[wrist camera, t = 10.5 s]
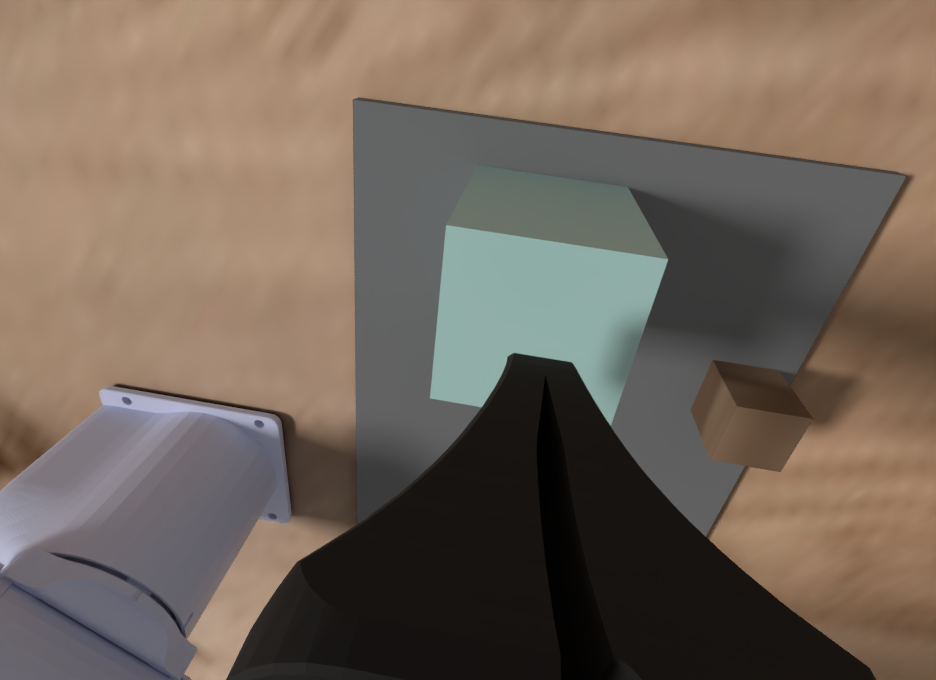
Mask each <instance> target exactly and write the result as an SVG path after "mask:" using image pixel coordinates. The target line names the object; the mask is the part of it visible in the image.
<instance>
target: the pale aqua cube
mask: <svg viewBox="0 0 936 680" xmlns="http://www.w3.org/2000/svg"><path fill="white" fill-rule="evenodd" d="M667 262H668V258H667V256H666V254H665V252H664V251H663V249H662V247H661V245H660V244H659V242H658V240H657V238H656V236H655V235H654V233H653V231H652V229H651V228H650V226H649V224H648V222H647V220H646V219H645V217H644V215H643V213H642V212H641V210H640V208H639V206H638V204H637V203H636V201H635V199H634V197H633V195H632V194H631V192H630V190H629V188H628V187H624V186H617V185H610V184H604V183H597V182H590V181H583V180H576V179H570V178H563V177H556V176H549V175H543V174H536V173H529V172H522V171H515V170H509V169H502V168H495V167H488V166H481V165H477V167H476V169H475V171H474V173H473V175H472V177H471V178H470V180H469V182H468V184H467V186H466V188H465V190H464V192H463V194H462V196H461V198H460V199H459V201H458V203H457V205H456V207H455V209H454V211H453V213H452V215H451V217H450V219H449V220H448V222H447V224H446V231H445V242H444V253H443V263H442V274H441V285H440V296H439V306H438V317H437V328H436V339H435V349H434V360H433V371H432V382H431V392H430V398H431V399H437V400H442V401H448V402H454V403H460V404H466V405H471V406H477V407H482V406H483V405H484V403H485V402H486V400H487V399H488V397H489V395H490V394H491V392H492V391H493V389H494V388H495V386H496V384H497V382H498V380H499V379H500V377H501V375H502V373H503V371H504V368H505V365H506V362H507V357H508V356H509V355H511V354H513V353H518V354H524V355H531V356H537V357H543V358H549V359H555V360H561V361H567V362H572V363H573V364H574V366H575V367H576V369H577V371H578V373H579V374H580V376H581V378H582V380H583V382H584V384H585V385H586V387H587V389H588V391H589V392H590V394H591V396H592V397H593V399H594V401H595V402H596V404H597V406H598V407H599V409H600V411H601V412H602V414H603V415H604V417H605V418H606V420H607V421H608V423H609V424H610V426H611V424H612V421H613V418H614V415H615V412H616V409H617V406H618V404H619V401H620V398H621V395H622V392H623V389H624V386H625V383H626V380H627V377H628V375H629V372H630V369H631V366H632V363H633V360H634V357H635V354H636V351H637V349H638V346H639V343H640V340H641V337H642V334H643V331H644V328H645V325H646V323H647V320H648V317H649V314H650V311H651V308H652V305H653V302H654V299H655V297H656V294H657V291H658V288H659V285H660V282H661V279H662V276H663V273H664V271H665V268H666V265H667Z"/></svg>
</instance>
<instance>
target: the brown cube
mask: <svg viewBox="0 0 936 680" xmlns="http://www.w3.org/2000/svg"><path fill="white" fill-rule="evenodd" d="M691 413H692V415H693V418H694V420H695V423H696V425H697V428H698V430H699V433H700V435H701V438H702V440H703V443H704V446H705V448H706V451H707V453H708V456H709V458H710V460H713V461H719V462H725V463H731V464H737V465H742V466H748V467H754V468H760V469H766V470H772V471H778V472H781V470H782V469H783V467H784V466H785V464H786V462H787V461H788V459H789V457H790V456H791V454H792V452H793V451H794V449H795V448H796V446H797V444H798V443H799V441H800V439H801V438H802V436H803V435H804V433H805V431H806V430H807V428H808V426H809V425H810V423H811V422H812V420H813V418H812V417H811V415H810V414H809V412H808V411H807V410H806V408H805V407H804V405H803V404H802V403H801V401H800V400H799V398H798V397H797V395H796V394H795V393H794V391H793V390H792V388H791V387H790V386H789V384H788V383H787V381H786V380H785V379H784V377H783V376H782V374H781V373H780V371H779V370H773V369H767V368H761V367H755V366H748V365H742V364H736V363H730V362H723V361H717V360H712V362H711V365H710V367H709V369H708V371H707V374H706V376H705V378H704V380H703V383H702V385H701V387H700V389H699V392H698V394H697V396H696V399H695V401H694V403H693V405H692V408H691Z"/></svg>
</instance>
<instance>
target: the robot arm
mask: <svg viewBox="0 0 936 680" xmlns="http://www.w3.org/2000/svg"><path fill="white" fill-rule="evenodd" d="M99 394H100V398H101V401H102V404H103V405H102V406H101V407H100V408H99V409H97V410H96V411H95V412H94V413H93V414H91V415H90V416H89V417H88V418H87V419H85V420H84V421H83V422H82V423H81V424H79V425H78V426H77V427H76V428H75V429H73V430H72V431H71V432H70V433H69V434H67V435H66V436H65V437H64V438H62V439H61V440H60V441H59V442H58V443H56V444H55V445H54V446H53V447H52V448H50V449H49V450H48V451H47V452H46V453H44V454H43V455H42V456H41V457H40V458H38V459H37V460H36V461H35V462H34V463H32V464H31V465H30V466H29V467H28V468H26V469H25V470H24V471H23V472H22V473H20V474H19V475H18V476H17V477H16V478H14V479H13V480H12V481H11V482H10V483H9V484H8V485H7V486H5V487H4V488H3V489H2V490H1V491H0V680H191V679H190V677H188V676H186V675H185V674H184V673H185V671H186V669H187V667H188V666H189V664H190V662H191V660H192V659H193V657H194V655H195V653H196V652H197V647H195V646H194V645H192V644H191V643H190V642H189V641H188V640H187V638H188V637H189V635H190V633H191V632H192V630H193V628H194V627H195V625H196V623H197V622H198V620H199V618H200V617H201V615H202V613H203V612H204V610H205V608H206V606H207V605H208V603H209V601H210V600H211V598H212V596H213V595H214V593H215V591H216V590H217V588H218V586H219V585H220V583H221V581H222V580H223V578H224V576H225V574H226V573H227V571H228V569H229V568H230V566H231V564H232V563H233V561H234V559H235V558H236V556H237V554H238V553H239V551H240V549H241V548H242V546H243V544H244V542H245V541H246V539H247V537H248V536H249V534H250V532H251V531H252V529H253V527H254V526H255V524H256V522H257V521H258V519H262V520H268V521H273V522H278V523H287V522H289V520H290V518H291V516H292V512H291V503H290V494H289V485H288V476H287V467H286V458H285V449H284V440H283V431H282V423H281V420H280V419H279V418H278V417H277V416H276V415H274V414H270V413H264V412H258V411H252V410H247V409H241V408H235V407H229V406H224V405H218V404H212V403H206V402H201V401H195V400H189V399H183V398H178V397H172V396H166V395H160V394H155V393H149V392H143V391H137V390H132V389H126V388H120V387H114V386H106V387H104V388H103V389H102V390H100V392H99ZM259 420H260V421H262V422H263V423H262V422H260V421H259ZM226 680H876V678H875V677H874V675H873V674H872V672H871V670H870V668H869V667H867V666H866V665H865V664H863V663H862V662H861V661H859V660H858V659H857V658H855V657H854V656H853V655H851V654H850V653H849V652H847V651H846V650H844V649H843V648H842V647H840V646H839V645H838V644H836V643H835V642H834V641H832V640H831V639H830V638H828V637H827V636H826V635H824V634H823V633H821V632H820V631H819V630H817V629H816V628H815V627H813V626H812V625H811V624H809V623H808V622H807V621H805V620H804V619H803V618H801V617H800V616H798V615H797V614H796V613H794V612H793V611H792V610H790V609H789V608H788V607H787V606H785V605H784V604H783V603H782V602H780V601H779V600H778V599H777V598H775V597H774V596H773V595H772V594H771V593H769V592H768V591H767V590H766V589H765V588H763V587H762V586H761V585H760V584H759V583H757V582H756V581H755V580H754V579H752V578H751V577H750V576H749V575H748V574H746V573H745V572H744V571H743V570H742V569H741V568H739V567H738V566H737V565H736V564H735V563H734V562H733V561H732V560H730V559H729V558H728V557H727V556H726V555H725V554H724V553H722V552H721V551H720V550H719V549H718V548H717V547H716V546H715V545H714V544H713V543H712V542H711V541H710V540H709V539H708V538H707V537H705V536H704V535H703V534H702V533H701V532H700V531H699V530H698V529H697V528H696V527H695V526H694V525H693V524H692V523H691V522H690V521H689V520H688V519H687V518H686V517H685V516H684V515H683V514H682V513H681V512H680V511H679V510H678V509H677V508H676V507H675V506H674V505H673V504H672V503H671V502H670V500H669V499H668V498H667V497H666V496H665V495H664V494H663V493H662V492H661V490H660V489H659V488H658V487H657V486H656V485H655V484H654V483H653V481H652V480H651V479H650V478H649V477H648V476H647V475H646V473H645V472H644V471H643V470H642V469H641V467H640V466H639V465H638V464H637V462H636V461H635V460H634V458H633V457H632V456H631V454H630V453H629V452H628V450H627V449H626V448H625V446H624V445H623V443H622V442H621V441H620V439H619V438H618V436H617V435H616V433H615V432H614V430H613V429H612V427H611V426H610V424H609V423H608V421H607V420H606V418H605V417H604V415H603V414H602V412H601V411H600V409H599V407H598V406H597V404H596V402H595V401H594V399H593V397H592V396H591V394H590V392H589V391H588V389H587V387H586V385H585V384H584V382H583V380H582V378H581V376H580V374H579V373H578V371H577V369H576V367H575V366H574V364H573V363H572V362H567V361H561V360H555V359H549V358H543V357H537V356H531V355H524V354H518V353H513V354H511V355H509V356H508V357H507V362H506V365H505V368H504V371H503V373H502V375H501V377H500V379H499V380H498V382H497V384H496V386H495V388H494V389H493V391H492V392H491V394H490V395H489V397H488V399H487V400H486V402H485V403H484V405H483V406H482V408H481V409H480V410H479V412H478V413H477V414H476V416H475V417H474V418H473V419H472V421H471V422H470V423H469V424H468V426H467V427H466V428H465V430H464V431H463V432H462V433H461V434H460V436H459V437H458V438H457V439H456V440H455V441H454V442H453V443H452V445H451V446H450V447H449V448H448V449H447V450H446V451H445V452H444V453H443V454H442V455H441V456H440V457H439V458H438V459H437V460H436V461H435V462H434V463H433V464H432V465H431V466H430V467H429V468H428V469H427V470H425V471H424V472H423V473H422V474H421V475H420V476H419V477H418V478H417V479H416V480H415V481H413V482H412V483H411V484H410V485H409V486H407V487H406V488H405V489H404V490H403V491H401V492H400V493H399V494H398V495H396V496H395V497H394V498H392V499H391V500H390V501H388V502H387V503H386V504H384V505H383V506H382V507H380V508H379V509H378V510H376V511H375V512H374V513H372V514H371V515H370V516H368V517H367V518H366V519H364V520H363V521H362V522H360V523H359V524H357V525H356V526H354V527H353V528H351V529H350V530H348V531H347V532H345V533H343V534H342V535H340V536H338V537H337V538H335V539H334V540H332V541H330V542H329V543H327V544H326V545H324V546H322V547H321V548H319V549H318V550H316V551H314V552H313V553H311V554H309V555H308V556H306V557H304V558H303V559H301V560H299V561H298V562H297V563H296V564H295V565H294V567H293V568H292V569H291V571H290V572H289V573H288V575H287V576H286V577H285V579H284V580H283V581H282V583H281V584H280V585H279V587H278V588H277V590H276V591H275V593H274V594H273V596H272V597H271V599H270V600H269V602H268V603H267V605H266V606H265V608H264V609H263V611H262V612H261V614H260V616H259V617H258V619H257V620H256V622H255V624H254V625H253V627H252V629H251V630H250V632H249V634H248V636H247V638H246V640H245V642H244V644H243V646H242V648H241V650H240V652H239V654H238V656H237V659H236V661H235V663H234V665H233V667H232V669H231V671H230V673H229V675H228V677H227V679H226Z"/></svg>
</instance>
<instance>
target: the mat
mask: <svg viewBox="0 0 936 680" xmlns="http://www.w3.org/2000/svg"><path fill="white" fill-rule="evenodd" d="M353 153H354V258H355V363H356V468H357V524H359V523H360V522H362V521H363V520H364V519H366V518H367V517H368V516H370V515H371V514H372V513H374V512H375V511H376V510H378V509H379V508H380V507H382V506H383V505H384V504H386V503H387V502H388V501H390V500H391V499H392V498H394V497H395V496H396V495H398V494H399V493H400V492H401V491H403V490H404V489H405V488H406V487H407V486H409V485H410V484H411V483H412V482H413V481H415V480H416V479H417V478H418V477H419V476H420V475H421V474H422V473H423V472H424V471H425V470H427V469H428V468H429V467H430V466H431V465H432V464H433V463H434V462H435V461H436V460H437V459H438V458H439V457H440V456H441V455H442V454H443V453H444V452H445V451H446V450H447V449H448V448H449V447H450V446H451V445H452V443H453V442H454V441H455V440H456V439H457V438H458V437H459V436H460V434H461V433H462V432H463V431H464V430H465V428H466V427H467V426H468V424H469V423H470V422H471V421H472V419H473V418H474V417H475V416H476V414H477V413H478V412H479V410H480V409H481V408H482V407H477V406H471V405H466V404H460V403H454V402H448V401H442V400H437V399H431V398H430V392H431V382H432V371H433V360H434V349H435V339H436V328H437V317H438V306H439V296H440V285H441V274H442V263H443V253H444V242H445V231H446V224H447V222H448V220H449V219H450V217H451V215H452V213H453V211H454V209H455V207H456V205H457V203H458V201H459V199H460V198H461V196H462V194H463V192H464V190H465V188H466V186H467V184H468V182H469V180H470V178H471V177H472V175H473V173H474V171H475V169H476V167H477V165H481V166H488V167H495V168H502V169H509V170H515V171H522V172H529V173H536V174H543V175H549V176H556V177H563V178H570V179H576V180H583V181H590V182H597V183H604V184H610V185H617V186H624V187H628V188H629V190H630V192H631V194H632V195H633V197H634V199H635V201H636V203H637V204H638V206H639V208H640V210H641V212H642V213H643V215H644V217H645V219H646V220H647V222H648V224H649V226H650V228H651V229H652V231H653V233H654V235H655V236H656V238H657V240H658V242H659V244H660V245H661V247H662V249H663V251H664V252H665V254H666V256H667V258H668V262H667V265H666V268H665V271H664V273H663V276H662V279H661V282H660V285H659V288H658V291H657V294H656V297H655V299H654V302H653V305H652V308H651V311H650V314H649V317H648V320H647V323H646V325H645V328H644V331H643V334H642V337H641V340H640V343H639V346H638V349H637V351H636V354H635V357H634V360H633V363H632V366H631V369H630V372H629V375H628V377H627V380H626V383H625V386H624V389H623V392H622V395H621V398H620V401H619V404H618V406H617V409H616V412H615V415H614V418H613V421H612V424H611V427H612V429H613V430H614V432H615V433H616V435H617V436H618V438H619V439H620V441H621V442H622V443H623V445H624V446H625V448H626V449H627V450H628V452H629V453H630V454H631V456H632V457H633V458H634V460H635V461H636V462H637V464H638V465H639V466H640V467H641V469H642V470H643V471H644V472H645V473H646V475H647V476H648V477H649V478H650V479H651V480H652V481H653V483H654V484H655V485H656V486H657V487H658V488H659V489H660V490H661V492H662V493H663V494H664V495H665V496H666V497H667V498H668V499H669V500H670V502H671V503H672V504H673V505H674V506H675V507H676V508H677V509H678V510H679V511H680V512H681V513H682V514H683V515H684V516H685V517H686V518H687V519H688V520H689V521H690V522H691V523H692V524H693V525H694V526H695V527H696V528H697V529H698V530H699V531H700V532H701V533H702V534H703V535H704V536H705V537H706V535H707V533H708V532H709V530H710V528H711V526H712V524H713V523H714V521H715V519H716V517H717V515H718V514H719V512H720V510H721V508H722V507H723V505H724V503H725V501H726V499H727V498H728V496H729V494H730V492H731V490H732V489H733V487H734V485H735V483H736V481H737V480H738V478H739V476H740V474H741V472H742V471H743V469H744V467H745V466H742V465H737V464H731V463H725V462H719V461H713V460H710V458H709V456H708V453H707V451H706V448H705V446H704V443H703V440H702V438H701V435H700V433H699V430H698V428H697V425H696V423H695V420H694V418H693V415H692V413H691V408H692V405H693V403H694V401H695V399H696V396H697V394H698V392H699V389H700V387H701V385H702V383H703V380H704V378H705V376H706V374H707V371H708V369H709V367H710V365H711V362H712V360H717V361H723V362H730V363H736V364H742V365H748V366H755V367H761V368H767V369H773V370H779V371H780V373H781V374H782V376H783V377H784V379H785V380H786V381H787V383H788V384H789V386H790V384H791V383H792V381H793V379H794V377H795V375H796V374H797V372H798V370H799V368H800V366H801V365H802V363H803V361H804V359H805V357H806V356H807V354H808V352H809V350H810V349H811V347H812V345H813V343H814V341H815V340H816V338H817V336H818V334H819V332H820V331H821V329H822V327H823V325H824V323H825V322H826V320H827V318H828V316H829V314H830V313H831V311H832V309H833V307H834V305H835V304H836V302H837V300H838V298H839V296H840V295H841V293H842V291H843V289H844V287H845V286H846V284H847V282H848V280H849V279H850V277H851V275H852V273H853V271H854V270H855V268H856V266H857V264H858V262H859V261H860V259H861V257H862V255H863V253H864V252H865V250H866V248H867V246H868V244H869V243H870V241H871V239H872V237H873V235H874V234H875V232H876V230H877V228H878V226H879V225H880V223H881V221H882V219H883V217H884V216H885V214H886V212H887V210H888V208H889V207H890V205H891V203H892V201H893V200H894V198H895V196H896V194H897V192H898V191H899V189H900V187H901V185H902V183H903V182H904V180H905V178H906V176H905V175H902V174H899V173H897V172H892V171H885V170H878V169H871V168H863V167H856V166H849V165H842V164H834V163H827V162H820V161H813V160H806V159H798V158H791V157H784V156H777V155H769V154H762V153H755V152H748V151H740V150H733V149H726V148H719V147H712V146H704V145H697V144H690V143H683V142H675V141H668V140H661V139H654V138H646V137H639V136H632V135H625V134H618V133H610V132H603V131H596V130H589V129H581V128H574V127H567V126H560V125H552V124H545V123H538V122H531V121H524V120H516V119H509V118H502V117H495V116H487V115H480V114H473V113H466V112H458V111H451V110H444V109H437V108H430V107H422V106H415V105H408V104H401V103H393V102H386V101H379V100H372V99H364V98H356V99H353Z"/></svg>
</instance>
